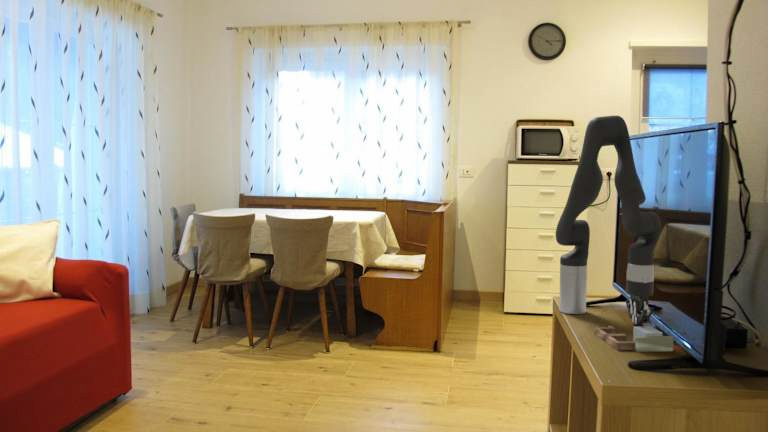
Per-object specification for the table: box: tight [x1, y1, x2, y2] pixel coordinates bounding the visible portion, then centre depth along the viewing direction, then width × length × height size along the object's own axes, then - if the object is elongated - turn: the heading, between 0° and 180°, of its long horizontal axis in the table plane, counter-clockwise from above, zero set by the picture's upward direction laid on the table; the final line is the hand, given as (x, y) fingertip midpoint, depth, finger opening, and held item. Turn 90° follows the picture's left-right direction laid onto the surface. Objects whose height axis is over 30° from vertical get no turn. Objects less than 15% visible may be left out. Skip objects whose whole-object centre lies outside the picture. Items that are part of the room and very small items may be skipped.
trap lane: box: [594, 325, 674, 353], centre depth 178 cm, size 20×15×4 cm
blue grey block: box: [632, 325, 664, 342], centre depth 172 cm, size 7×5×5 cm
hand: (637, 335), depth 178 cm, fingers closed
